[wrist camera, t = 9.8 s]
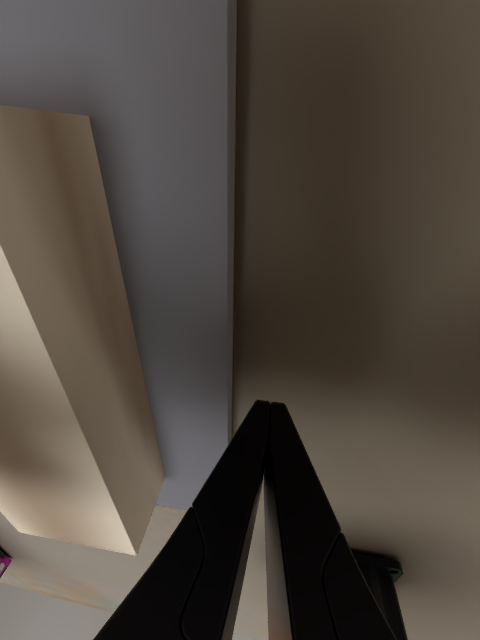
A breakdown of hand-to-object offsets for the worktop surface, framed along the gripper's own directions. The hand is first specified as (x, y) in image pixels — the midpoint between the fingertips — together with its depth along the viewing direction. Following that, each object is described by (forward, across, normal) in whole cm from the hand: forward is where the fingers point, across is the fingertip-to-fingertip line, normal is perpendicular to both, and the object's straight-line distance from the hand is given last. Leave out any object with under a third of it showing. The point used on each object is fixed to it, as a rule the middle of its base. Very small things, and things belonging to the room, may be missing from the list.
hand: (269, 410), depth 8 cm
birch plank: (+1, +7, 0) cm, 7 cm away
